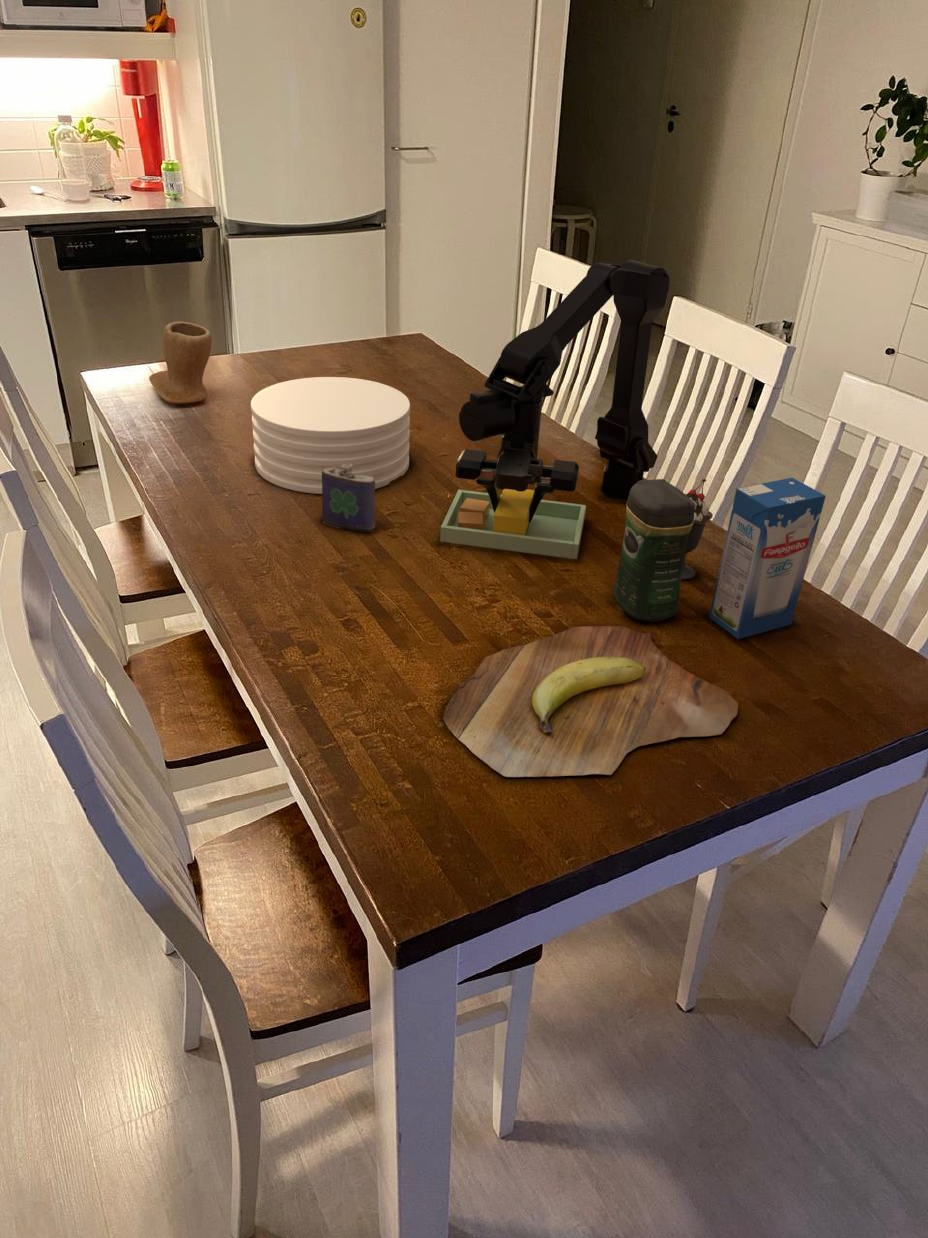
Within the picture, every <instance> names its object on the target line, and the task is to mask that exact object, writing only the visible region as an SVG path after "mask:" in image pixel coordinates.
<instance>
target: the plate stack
mask: <svg viewBox="0 0 928 1238" xmlns="http://www.w3.org/2000/svg"><path fill="white" fill-rule="evenodd" d="M250 412H251V425H252V440H253V453H254V468H255V470H256V471H257V473H258V474H259V475H260V476H261V477H262V478H263V479H264V480H266V481H267V482H269V483H271V484H273V485H275V486H277V487H281V488H284V489H287V490H291V491H295V492H300V493H306V494H315V495H322V471H323V470H324V469H326V468H332V467H335V468H337V469H339V470H342V469H343V468H342V465H343V464H347V465H349V463H351V464H352V465H353V467H352V468H351V470H352V471H351V473H352V474H357V475H364V476H371V477H373V478H374V479H375V490H376V489H380V488H383V487H386V486H388V485H390V484H391V482H392V481H394V480H396V479H398V478H399V477H403V476H404V475H405V474H406V473H407V472H408V470H409V468H410V456H409V454H410V434H411V433H410V432H411V431H410V426H411V416H410V413H411V402H410V399H409V397H407V395H405V393H404V392H402V391H400V390H398V389H396V388H394V387H392V386H390V385H387V384H384V383H381V382H377V381H373V380H368V379H363V378H355V377H344V376H343V377H342V376H317V377H316V376H313V377H305V378H304V377H303V378H296V379H291V380H286V381H282V382H278V383H275V384H272V385H270V386H269V385H268V386H267V387H265V388H263V389H261V390H260V391H258V392H257V393H256V394H254V395H253V397H252V399H251V401H250Z"/></svg>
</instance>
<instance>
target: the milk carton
mask: <svg viewBox="0 0 928 1238" xmlns="http://www.w3.org/2000/svg"><path fill="white" fill-rule="evenodd" d="M826 497H827V495H825V494H823V493H822V492H820V491H819V490H816V489H814V488H813V487H811V486H809V485H807V484H805V483H803V482H802V481H799V480H798V479H795V478H794V477H788V478H782V479H778V480H773V481H768V482H763V483H762V482H761V483H757V484H752V485H747V486H743V487H738V488H736V489H735V494H734V497H733V503H732V507H731V512H730V516H729V520H728V521H729V522H728V526H727V531H726V535H725V539H724V545H723V550H722V555H721V559H720V564H719V569H718V573H717V577H716V581H715V582H716V583H715V588H714V591H713V592H714V593H713V595H712V600H711V606H710V611H709V615H708V618H709V619H710V620H712V621H714V623H716V624H717V625H719V627H721V628H722V629H724V630H725V631H727V632H728V633H729V634H730V635H732V636H733V637H734V638H735V639H737V640H741V639H744V638H747V637H748V638H749V637H751V636H755V635H758V634H762V633H765V632H768V631H773V630H776V629H779V628H783V627H787V626H791V625H792V623H793V620H794V616H795V612H796V608H797V606H798V601H799V597H800V594H801V590H802V586H803V582H804V579H805V575H806V571H807V568H808V564H809V561H810V556H811V553H812V549H813V545H814V542H815V537H816V533H817V529H818V527H819V523H820V520H821V515H822V512H823V508H824V504H825V500H826Z"/></svg>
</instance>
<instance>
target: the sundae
mask: <svg viewBox="0 0 928 1238" xmlns="http://www.w3.org/2000/svg"><path fill="white" fill-rule="evenodd" d="M706 481H707V479H706V478H702V479H701V482H700V485H699V486H697V487H696V488H695V489H690V490H689V491H688V492H687V493H685V494H686V495H687V496H688V497H689V498H690V499H691V500H692V501H693V502H694V503H695V512H694V523H693V526H692V529H691V531H690V533H689V536H688V540H687V545H686V550H685V557H684V563H683V569H682V576H681V581H682V580H683V581H684V580H690V579H692V578H694V577H695V576H696V571H695V569H694V568H693V567H691V566H690V565H687V564H686V556H687V554H688V553H691V552H693V551H694V550H696V549H697V548H698V545H699V543H700V541H701V538H702V535H703V532H704V531H705V530H704V529H705V527H706V524H708V523H709V522H710V521H711V520H712V518H713V513H712V512H711V511H709V510H710V509H709V505H708V504H707V502H706V501H705V498H706V496H705V493H704V484H705V482H706ZM700 487H701V492H700V493H697V492H698V491H697V490H698V489H699V488H700Z"/></svg>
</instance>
